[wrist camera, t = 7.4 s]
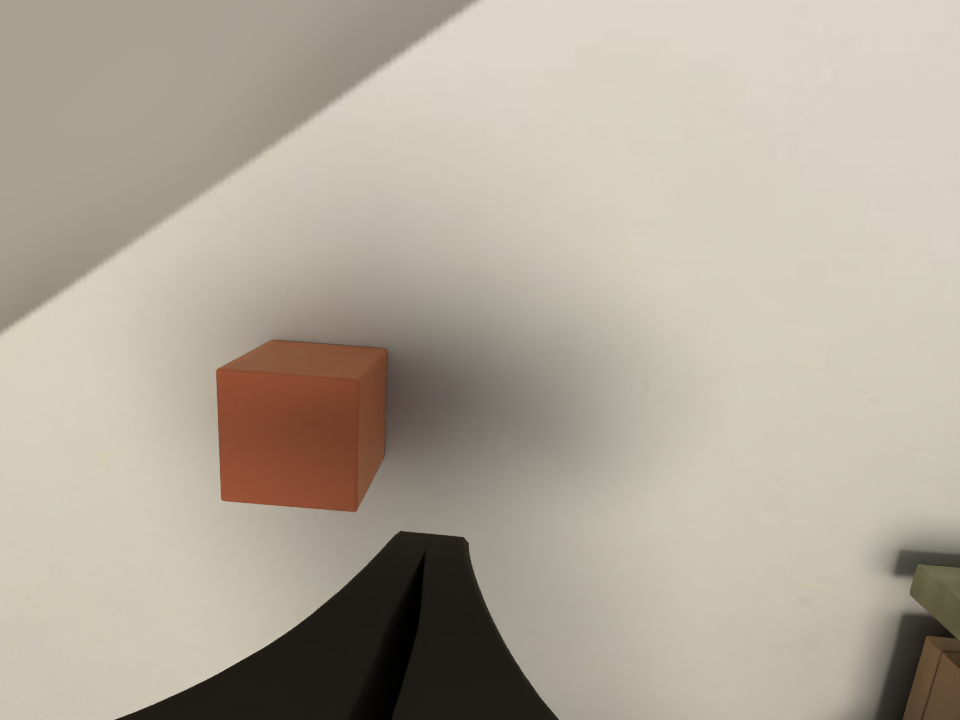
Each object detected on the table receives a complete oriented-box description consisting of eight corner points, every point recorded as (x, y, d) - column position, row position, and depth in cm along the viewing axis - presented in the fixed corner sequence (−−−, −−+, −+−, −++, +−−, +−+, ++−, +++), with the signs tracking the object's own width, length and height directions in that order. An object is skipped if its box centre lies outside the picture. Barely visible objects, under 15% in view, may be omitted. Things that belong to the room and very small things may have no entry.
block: (272, 449, 21) (220, 501, 17) (271, 339, 20) (214, 368, 16) (384, 458, 21) (356, 513, 17) (388, 348, 20) (359, 379, 16)
